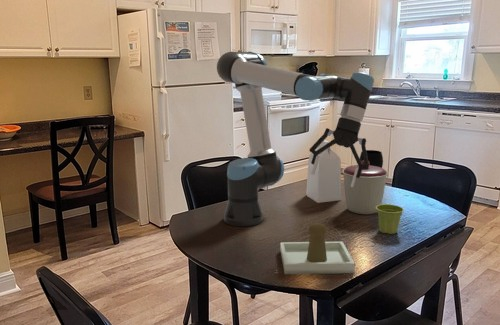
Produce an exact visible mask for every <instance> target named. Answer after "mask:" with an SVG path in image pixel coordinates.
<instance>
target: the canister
mask: <svg viewBox="0 0 500 325" xmlns="http://www.w3.org/2000/svg"><path fill="white" fill-rule="evenodd" d="M361 163H362V165H365V164H364V160H363V161H362V162H361ZM368 163H369V168H364V169H362V172H361V175H360V177H359V178H357V177H356V179H355V183H354V186H353V187H351V183H352V180H353V176H354V173H355V170H356V168H359V166H358V164H355V165H349V166H346V168H345V167H344V168H343V169H341V174H343V186H344V197H345V205H346V208H347V209H348V210H349V211H350V212H351V213H355V214H359V215H373V214H376V213H377V209H376V206H378V205H381V204H382V203H383V199H384V198H383V197H384V193H385V192H384V191H385V188H386V180H387V176H388V175H389V171H388V170H385V169H384V168H383V167H382V168H380V167H377V166H371V165H370V162H369V161H368Z"/></svg>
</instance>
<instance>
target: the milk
mask: <svg viewBox="0 0 500 325" xmlns="http://www.w3.org/2000/svg"><path fill="white" fill-rule="evenodd" d="M329 142H330V141H328V140H326V139H325V140H324V141H323V142H322V143H321V144H320V145H319V146H318V147H317V148H316V149H315V151H317V150H318V149H320V148H321V147H323V146H324V145H326V144H327V143H329ZM318 156H319V157H320V158H319V161H318V164H317V168H316V171H315V174H314V175H312V174H311V172H312V169H313V166H314V164H311V162H312V158H313V153H312V152H310V154H309V157H308V164H307V165H308V166H307V177H306V178H307V179H306V193H305V195H307V197H308V198H310V199H311V200H312V201H314V202H316V203H318V204H319V203H326V202H335V201H342V161H341V160H342V159H341V158H340V157H339V156H338V154H337V153H336V152H335V150H334V149H333V148H332V147H329V148H328V149H326V150H325V151H323V152H322V153H320V154H319V155H318Z"/></svg>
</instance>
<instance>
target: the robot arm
mask: <svg viewBox="0 0 500 325" xmlns="http://www.w3.org/2000/svg"><path fill="white" fill-rule="evenodd" d="M216 72H217V75H218V77H219V78H220V79H221V80H222V81H224V82H227V83H232V84H234V87H235V90H237V91H238V92H239V93H240V99H241V103H242V104H241V105H242V109H243V110H242V111H243V115H244V121H245V127H246V133H247V139H248V146H249V150H250V151H249V153H248V154H247V157H243V158H237V159H234V160H232V161H230V162H229V163H228V165H227V172H226V177H227V178H226V179H227V203H226V207H225V210H224V214H223V221H224V222H225V223H226V224H227V225H230V226H235V227H250V226H251V227H252V226H256V225H259V224H261V223H262V222H263V221H264V214H263V211H262V207H261V204H260V202H259V190H262V189H263V188H264V189H265V188H266V187H271V186H274V185H275V184H277V183H278V182H280V181H281V179H282V178H283V176H284V173H285V164H284V163H283V162H284V161H282V159H280V157H279V156H277V151H276V150H275V149H274V148H273V147H272V145H271V138H270V137H271V136H270V132H269V126H268V120H267V114H266V107H265V103H264V95H263V90H262V88H264V89H267V90H270V91H271V90H272V91H276V92H280V93H284V94H289V95H293V96H296V97H298V98H299V99H300V100H303V101H309V102H311V101H316V100H322V99H337V100H341V101H344V102H343V105H342V108H341V110H340V114H339V115H340V117H339V118H338V121H337V125H336V127H335V130H331V129H330V128H328V127H327V128H325V131H324V132H323V134H321V136H320V138H319V139H318V140H317V141H316V142H315V143H313V145H312V146H311V147H310V148H309V152H310V153H313V158H312V162H311V164H314V166H313V169H312V172H311V174H312V175H314V174H315V171H316V168H317V164H318V161H319V158H320V157H319V156H318V155H319V154H320V153H322V152H323V151H325V150H326V149H328V148H329V147H330V148H332V146H334V145H336V146H339V147H344V148H346V149H347V148H349V149H350V150H351V153H352V155H353V158H354V159H355V161H356V165H358V166H359V168H356V170H355V173H354V176H353V180H352V183H351V187H353V186H354V183H355V179H356V177H357V178H359V177H360V175H361V172H362V169H364V168H369V163H368V158H367V152H366V150H367V149H366V144H367V139H366V138H365V137H364V138H361V137H359V132H360V129H361V126H362V123H361V122H363V121H364V120H363V119H364V117H365V113H366V110H367V106H368V104H369V100H370V97H371V93H372V92H373V87H374V82H375V78H374V77H373V76H372V75H370V74H368V73H365V72H360V71H355V72H353V73H352V75H351V77H344V76H338V75H334V74H330V73H320V74H318V75H311V74H306V73H302V72H297V71H293V70H292V71H291V70H288V69H283V68H279V67H274V66H270V65H268V63H267V62H266V59H265V58H264V56H262V55H261V54H259V53H257V52H253V51H228V52H224V53H223V54H222V55H221V56H220V57H219V58H218V60H217V62H216ZM331 135H332V136H333V139H332V140H331V141H328V142H329V143H327V144H326V145H324V146H323V147H321V148H320V149H318V150H317V151H315V149H316V148H317V147H318V146H319V145H320V144H321V143H322V142H323V141H324V140H325V141H326V139H327V138H328V136H331ZM357 142H358V143H359V145H360V147H361V152H362V153H363V159H364V164H365V165H362V163H361V161H360V155H359V154H358V151H357V150H356V147H355V144H356V143H357Z"/></svg>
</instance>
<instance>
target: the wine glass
mask: <svg viewBox="0 0 500 325" xmlns="http://www.w3.org/2000/svg"><path fill="white" fill-rule="evenodd" d="M366 152H367V158H368V161H369V162H370V165H371V166H377V167H380V168H383V165H384V158H383V153H382V151H381V150H372V149H366ZM359 158H360V161H361V162H362V161H363V160H364V159H363V153H362V151H360V155H359Z"/></svg>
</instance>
